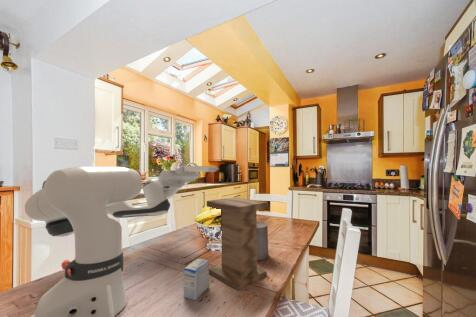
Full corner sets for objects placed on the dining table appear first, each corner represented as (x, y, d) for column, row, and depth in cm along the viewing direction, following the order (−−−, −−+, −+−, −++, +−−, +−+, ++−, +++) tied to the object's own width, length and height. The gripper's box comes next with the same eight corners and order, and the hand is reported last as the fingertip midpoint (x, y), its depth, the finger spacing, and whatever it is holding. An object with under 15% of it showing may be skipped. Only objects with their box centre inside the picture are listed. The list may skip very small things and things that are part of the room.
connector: (212, 171, 90) (212, 165, 90) (180, 171, 109) (180, 166, 109) (219, 171, 93) (219, 165, 93) (187, 171, 112) (187, 166, 112)
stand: (240, 291, 69) (239, 207, 70) (206, 271, 83) (206, 201, 84) (269, 276, 79) (268, 202, 80) (235, 260, 92) (234, 197, 93)
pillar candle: (258, 250, 103) (257, 217, 104) (273, 256, 96) (272, 221, 96) (241, 255, 98) (240, 221, 98) (255, 263, 90) (255, 225, 90)
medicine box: (197, 284, 74) (197, 258, 74) (209, 287, 72) (209, 259, 72) (183, 297, 66) (183, 268, 67) (196, 301, 65) (196, 270, 65)
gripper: (194, 185, 122) (207, 173, 114) (157, 188, 108) (169, 174, 100) (191, 175, 125) (203, 162, 116) (155, 176, 111) (166, 162, 102)
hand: (187, 167), depth 108 cm, fingers closed on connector, 4 cm apart
